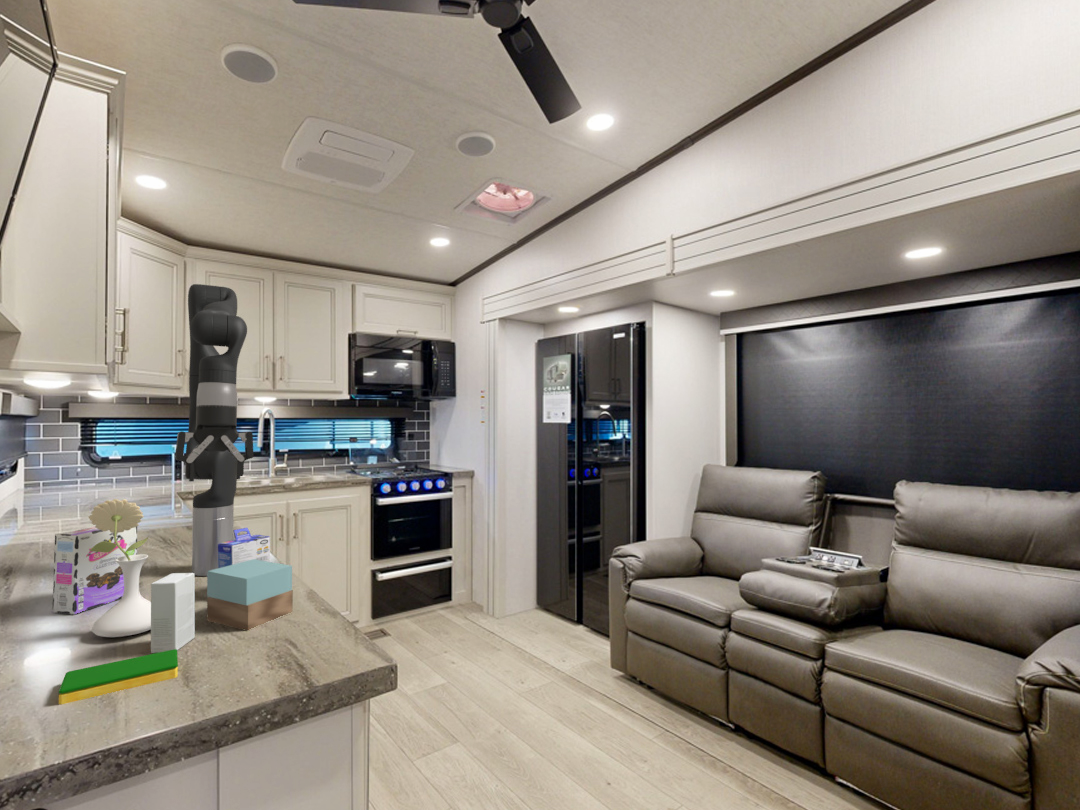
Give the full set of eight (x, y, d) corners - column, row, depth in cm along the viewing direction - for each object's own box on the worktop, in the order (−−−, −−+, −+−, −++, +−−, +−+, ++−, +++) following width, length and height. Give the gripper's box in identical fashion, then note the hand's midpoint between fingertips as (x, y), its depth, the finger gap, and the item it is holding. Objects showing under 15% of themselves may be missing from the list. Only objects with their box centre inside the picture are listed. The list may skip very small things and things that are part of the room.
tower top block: (253, 582, 115) (253, 559, 115) (291, 590, 110) (292, 565, 110) (207, 596, 106) (207, 571, 106) (246, 605, 101) (246, 578, 101)
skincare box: (170, 639, 97) (171, 572, 97) (195, 638, 97) (196, 572, 97) (148, 653, 91) (149, 583, 91) (175, 652, 91) (176, 582, 91)
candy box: (74, 615, 108) (75, 534, 109) (51, 613, 110) (52, 533, 110) (137, 593, 122) (138, 521, 122) (116, 592, 123) (118, 520, 124)
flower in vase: (179, 617, 107) (180, 493, 108) (147, 641, 96) (149, 502, 96) (106, 622, 105) (108, 495, 105) (65, 646, 94) (67, 504, 94)
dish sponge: (177, 680, 82) (177, 664, 82) (58, 708, 74) (58, 690, 74) (177, 662, 88) (177, 648, 88) (66, 687, 80) (66, 671, 80)
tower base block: (252, 606, 115) (253, 582, 115) (292, 614, 110) (292, 590, 110) (207, 622, 105) (207, 597, 106) (248, 632, 100) (248, 605, 101)
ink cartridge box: (255, 584, 128) (256, 524, 129) (271, 587, 126) (272, 526, 126) (216, 597, 119) (216, 532, 120) (232, 600, 117) (233, 534, 117)
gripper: (250, 407, 123) (248, 477, 121) (175, 404, 114) (172, 481, 113) (257, 404, 117) (255, 479, 116) (179, 402, 108) (176, 482, 107)
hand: (214, 480), depth 114 cm, fingers open, 8 cm apart
